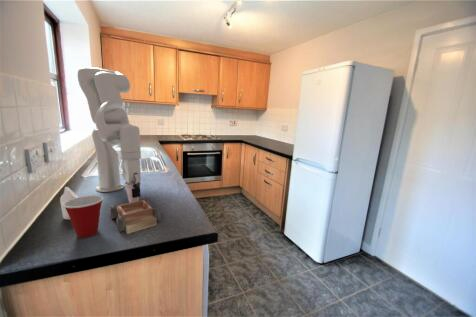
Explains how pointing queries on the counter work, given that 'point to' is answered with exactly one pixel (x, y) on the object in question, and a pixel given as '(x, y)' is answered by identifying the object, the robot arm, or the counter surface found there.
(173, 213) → the counter surface
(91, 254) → the counter surface
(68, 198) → the roll
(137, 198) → the smoothie
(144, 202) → the chassis
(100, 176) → the robot arm
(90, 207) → the plastic cup
